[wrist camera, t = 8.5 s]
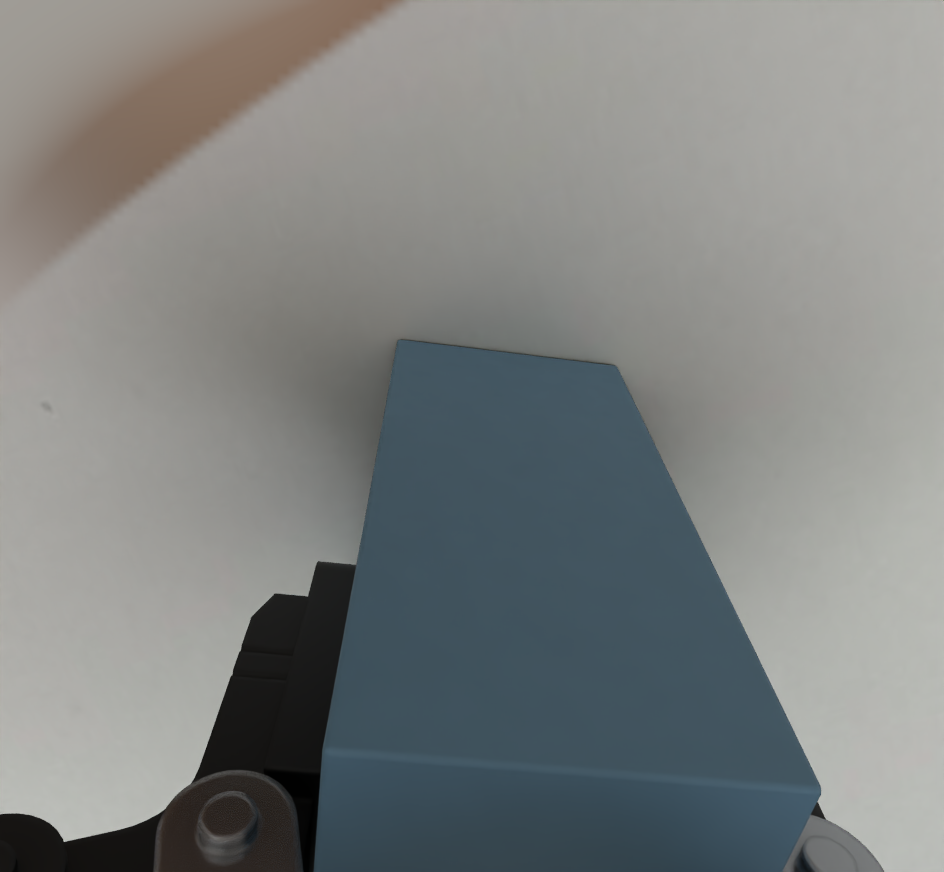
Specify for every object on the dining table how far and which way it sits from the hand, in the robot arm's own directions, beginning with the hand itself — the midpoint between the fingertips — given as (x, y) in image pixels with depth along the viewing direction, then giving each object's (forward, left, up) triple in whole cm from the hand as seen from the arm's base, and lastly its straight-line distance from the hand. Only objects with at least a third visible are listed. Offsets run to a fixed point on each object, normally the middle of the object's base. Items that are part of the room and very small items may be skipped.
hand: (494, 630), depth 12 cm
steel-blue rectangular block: (0, 0, -4) cm, 4 cm away
